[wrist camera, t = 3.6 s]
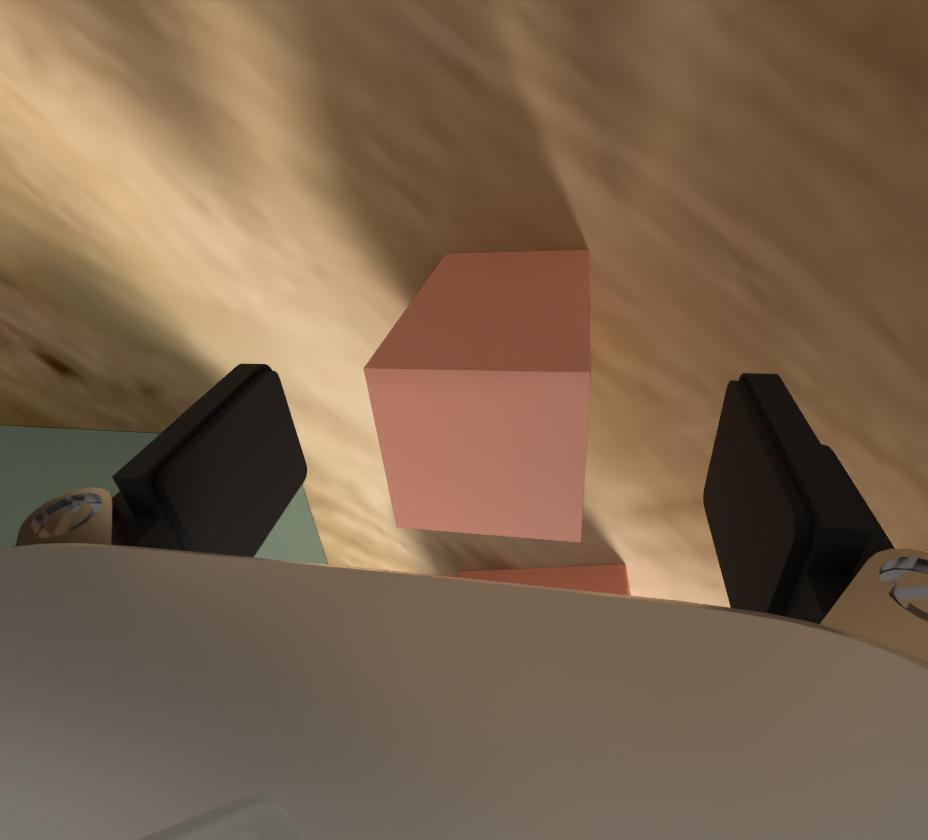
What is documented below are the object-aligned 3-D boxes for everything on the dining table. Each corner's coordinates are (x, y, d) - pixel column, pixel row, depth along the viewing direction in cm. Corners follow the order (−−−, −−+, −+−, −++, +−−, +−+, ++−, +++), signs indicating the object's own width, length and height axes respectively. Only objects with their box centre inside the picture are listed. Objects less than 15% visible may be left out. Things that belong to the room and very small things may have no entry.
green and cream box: (287, 439, 20) (91, 690, 12) (363, 674, 29) (278, 910, 21) (-40, 423, 24) (-366, 614, 16) (117, 639, 32) (-38, 833, 24)
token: (624, 560, 21) (632, 652, 18) (636, 624, 23) (644, 717, 20) (459, 568, 23) (438, 651, 20) (482, 625, 25) (467, 710, 22)
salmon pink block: (588, 249, 14) (590, 372, 9) (582, 377, 17) (580, 542, 11) (446, 253, 15) (363, 368, 10) (458, 375, 17) (397, 527, 12)
